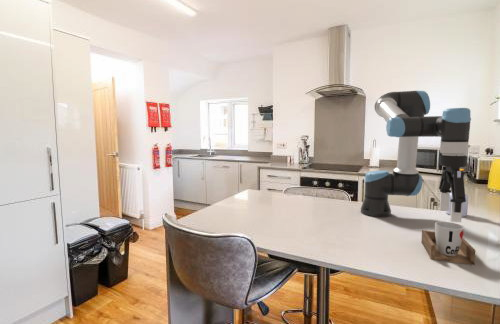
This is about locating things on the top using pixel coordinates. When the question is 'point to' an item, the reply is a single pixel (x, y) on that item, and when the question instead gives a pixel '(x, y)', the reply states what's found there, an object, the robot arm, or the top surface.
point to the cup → (448, 237)
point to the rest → (463, 256)
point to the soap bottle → (464, 205)
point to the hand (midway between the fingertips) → (449, 215)
